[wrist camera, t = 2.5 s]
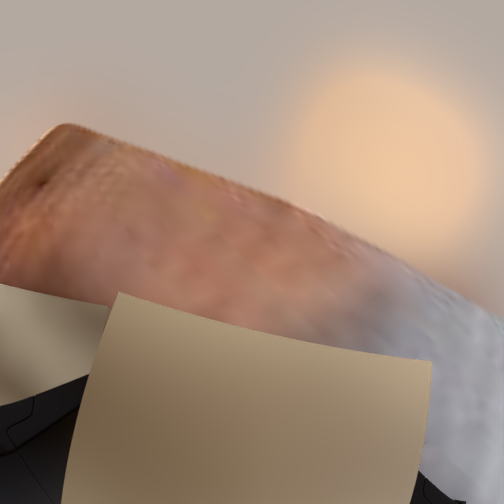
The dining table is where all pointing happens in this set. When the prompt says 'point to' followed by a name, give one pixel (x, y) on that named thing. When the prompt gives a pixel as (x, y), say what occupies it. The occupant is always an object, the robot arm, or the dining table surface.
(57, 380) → the beige square platform
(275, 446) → the beige tall block
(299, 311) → the dining table surface
